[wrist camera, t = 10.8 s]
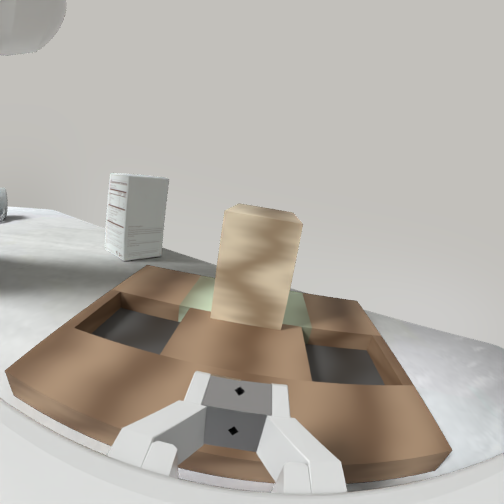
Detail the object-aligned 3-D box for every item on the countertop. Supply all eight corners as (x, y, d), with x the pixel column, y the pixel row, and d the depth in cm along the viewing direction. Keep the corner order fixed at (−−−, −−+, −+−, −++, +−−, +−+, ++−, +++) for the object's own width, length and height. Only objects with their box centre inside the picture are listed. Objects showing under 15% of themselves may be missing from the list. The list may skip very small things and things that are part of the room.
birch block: (210, 317, 24) (224, 210, 22) (227, 280, 34) (238, 203, 32) (280, 330, 24) (302, 224, 22) (278, 289, 34) (292, 212, 32)
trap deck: (13, 395, 11) (4, 370, 11) (146, 280, 35) (147, 264, 34) (435, 470, 11) (452, 450, 10) (352, 315, 34) (356, 300, 34)
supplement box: (139, 245, 50) (146, 175, 47) (162, 257, 45) (171, 178, 42) (103, 249, 44) (109, 172, 41) (122, 262, 39) (129, 174, 37)
